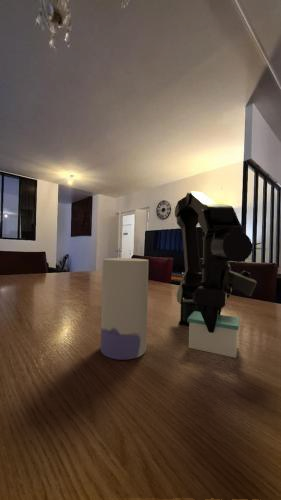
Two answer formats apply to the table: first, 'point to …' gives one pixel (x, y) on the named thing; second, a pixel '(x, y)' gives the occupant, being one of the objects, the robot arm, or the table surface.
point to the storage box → (213, 339)
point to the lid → (221, 321)
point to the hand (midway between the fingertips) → (213, 327)
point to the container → (124, 307)
